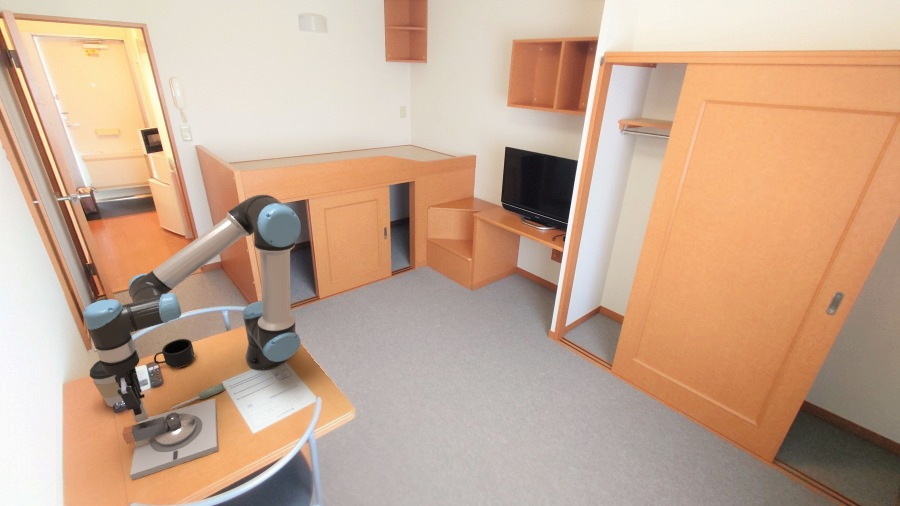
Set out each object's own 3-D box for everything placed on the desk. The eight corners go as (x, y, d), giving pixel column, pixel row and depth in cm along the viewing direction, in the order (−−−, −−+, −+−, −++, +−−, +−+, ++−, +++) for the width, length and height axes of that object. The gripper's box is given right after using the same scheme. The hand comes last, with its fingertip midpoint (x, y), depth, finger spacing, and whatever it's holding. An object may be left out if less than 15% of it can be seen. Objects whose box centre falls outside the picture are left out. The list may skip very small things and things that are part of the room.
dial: (196, 413, 124) (192, 399, 121) (196, 438, 116) (191, 423, 114) (131, 433, 117) (125, 417, 114) (126, 460, 109) (120, 445, 106)
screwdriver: (221, 383, 138) (222, 382, 136) (224, 390, 137) (225, 389, 135) (170, 405, 128) (170, 404, 126) (173, 413, 127) (173, 411, 126)
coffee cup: (118, 412, 126) (104, 375, 119) (94, 406, 127) (79, 369, 121) (144, 391, 134) (131, 356, 127) (121, 386, 135) (107, 350, 129)
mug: (194, 350, 153) (190, 335, 150) (196, 364, 147) (192, 349, 144) (156, 361, 147) (151, 345, 144) (157, 376, 140) (151, 360, 137)
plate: (216, 403, 131) (214, 398, 130) (217, 450, 116) (216, 445, 115) (141, 424, 122) (139, 419, 121) (132, 480, 106) (129, 474, 106)
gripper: (104, 344, 109) (128, 408, 119) (96, 374, 99) (123, 441, 109) (138, 337, 113) (158, 399, 123) (133, 365, 103) (156, 430, 113)
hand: (142, 419), depth 116 cm, fingers closed
